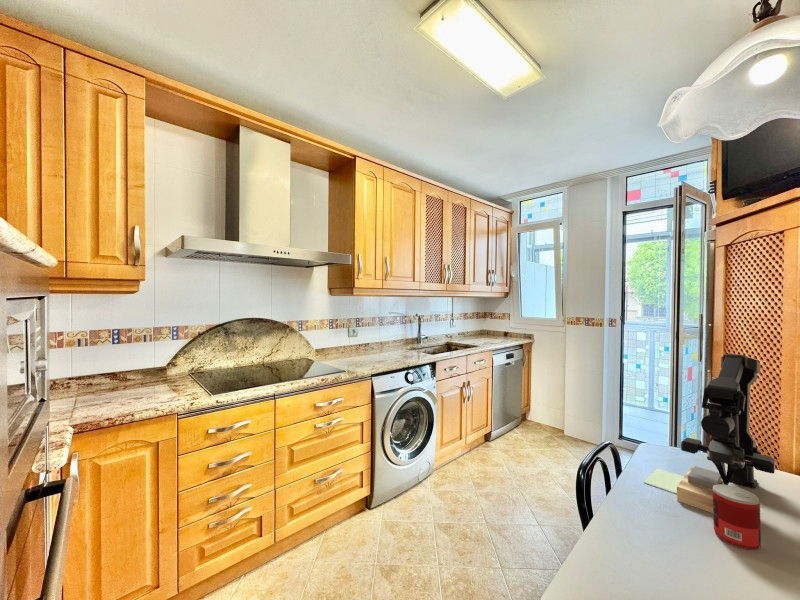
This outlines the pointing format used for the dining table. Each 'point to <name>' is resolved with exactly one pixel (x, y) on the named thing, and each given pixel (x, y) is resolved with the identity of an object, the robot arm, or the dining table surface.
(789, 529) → the dining table surface
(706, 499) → the deck
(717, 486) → the canned food
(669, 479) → the mat
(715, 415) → the robot arm
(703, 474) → the pale grey box
